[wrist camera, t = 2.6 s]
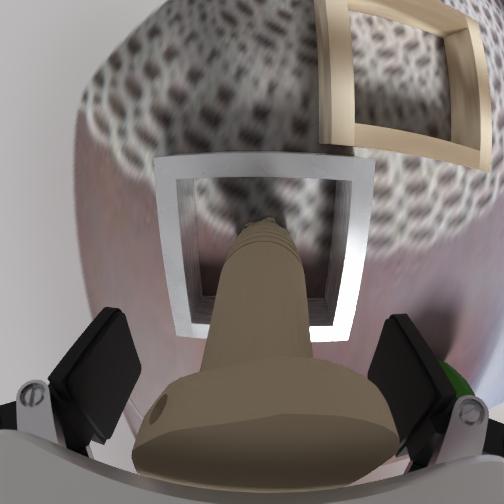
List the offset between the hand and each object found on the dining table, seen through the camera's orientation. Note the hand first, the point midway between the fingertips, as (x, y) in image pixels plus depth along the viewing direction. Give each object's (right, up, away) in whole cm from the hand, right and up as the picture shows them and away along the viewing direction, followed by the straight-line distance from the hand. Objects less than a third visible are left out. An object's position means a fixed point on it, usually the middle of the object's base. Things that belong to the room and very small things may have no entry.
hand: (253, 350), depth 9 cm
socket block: (+1, +4, +9) cm, 10 cm away
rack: (+10, +15, +4) cm, 18 cm away
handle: (+1, +4, +9) cm, 10 cm away
